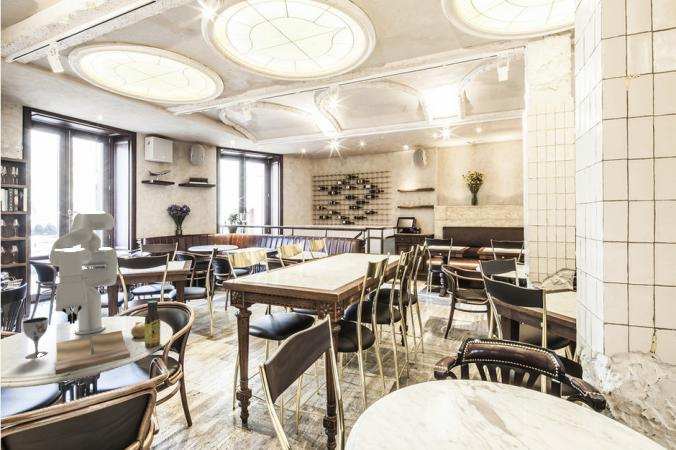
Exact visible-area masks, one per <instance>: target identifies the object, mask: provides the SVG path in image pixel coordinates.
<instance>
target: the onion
mask: <svg viewBox="0 0 676 450" xmlns="http://www.w3.org/2000/svg"><path fill="white" fill-rule="evenodd" d="M130 334H131V336H132V337H133V338H139V339H142V338H145V322H143V321H137V322H135V325H134V326H133V327H132V328H131V331H130Z"/></svg>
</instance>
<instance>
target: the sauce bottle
mask: <svg viewBox="0 0 676 450" xmlns="http://www.w3.org/2000/svg"><path fill="white" fill-rule="evenodd" d="M158 303H159V302H158V300H150V301H147V303H146V304H147V313H146V315H145V317H144V323H145V337H144V346H145V347H146V348H153V347H157V346H159V345H160V344H161V317H160V315H159V312H158Z"/></svg>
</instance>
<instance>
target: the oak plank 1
mask: <svg viewBox="0 0 676 450" xmlns="http://www.w3.org/2000/svg"><path fill="white" fill-rule="evenodd" d="M55 345H56V362H59V361H64V360H68V359H73V358H77V357H82V356H86V355H91V354H92V350H91V340H90V336H86V337H85V336H84V337H81V338H75V339H71V340H65V341H60V342H56V344H55Z"/></svg>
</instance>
